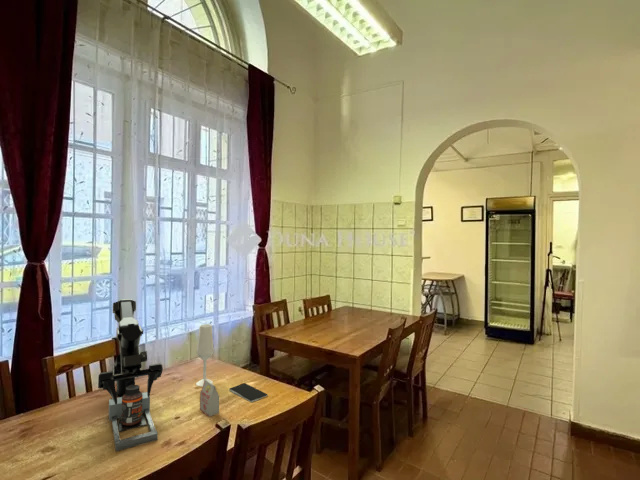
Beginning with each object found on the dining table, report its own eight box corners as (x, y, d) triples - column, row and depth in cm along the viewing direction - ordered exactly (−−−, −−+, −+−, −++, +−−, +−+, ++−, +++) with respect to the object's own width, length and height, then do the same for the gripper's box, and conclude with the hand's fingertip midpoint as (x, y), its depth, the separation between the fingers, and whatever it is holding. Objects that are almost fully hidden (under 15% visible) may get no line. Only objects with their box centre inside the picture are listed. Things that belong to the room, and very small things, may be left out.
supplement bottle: (133, 427, 111) (133, 391, 111) (116, 425, 112) (117, 389, 112) (146, 418, 117) (146, 384, 117) (130, 416, 118) (131, 382, 118)
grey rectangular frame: (111, 421, 115) (111, 414, 115) (148, 412, 121) (148, 406, 121) (115, 451, 99) (115, 444, 99) (157, 440, 105) (157, 433, 105)
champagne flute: (196, 380, 149) (197, 324, 149) (212, 379, 151) (213, 323, 151) (195, 387, 143) (196, 328, 143) (213, 385, 145) (214, 327, 145)
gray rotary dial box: (108, 414, 120) (109, 397, 120) (147, 405, 126) (147, 389, 126) (109, 420, 115) (109, 403, 115) (149, 411, 122) (150, 394, 122)
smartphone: (251, 401, 130) (228, 388, 140) (251, 404, 130) (228, 391, 140) (268, 394, 136) (245, 382, 146) (268, 397, 136) (244, 385, 146)
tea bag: (209, 406, 127) (210, 378, 127) (218, 413, 122) (219, 384, 122) (199, 409, 124) (200, 381, 124) (209, 416, 119) (209, 387, 119)
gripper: (99, 348, 112) (99, 396, 103) (162, 339, 123) (167, 382, 113) (97, 365, 119) (98, 411, 110) (158, 356, 129) (162, 397, 120)
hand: (132, 400), depth 113 cm, fingers open, 9 cm apart
